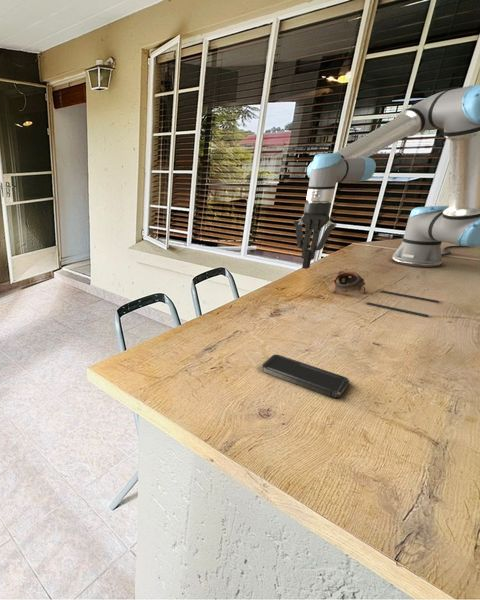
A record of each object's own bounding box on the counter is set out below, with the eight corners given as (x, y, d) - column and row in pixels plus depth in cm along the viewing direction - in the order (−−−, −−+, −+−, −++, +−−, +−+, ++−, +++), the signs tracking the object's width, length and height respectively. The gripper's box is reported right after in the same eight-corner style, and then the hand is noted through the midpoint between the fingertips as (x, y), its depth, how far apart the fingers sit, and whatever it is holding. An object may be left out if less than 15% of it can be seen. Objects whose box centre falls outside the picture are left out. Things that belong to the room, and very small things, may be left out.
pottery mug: (373, 297, 115) (370, 279, 111) (341, 308, 118) (338, 291, 114) (352, 278, 125) (349, 260, 121) (323, 288, 128) (319, 272, 124)
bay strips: (381, 291, 119) (382, 290, 119) (438, 301, 109) (438, 300, 108) (366, 304, 110) (366, 303, 110) (427, 317, 99) (427, 316, 99)
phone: (339, 395, 68) (260, 366, 79) (338, 400, 68) (259, 370, 79) (351, 378, 73) (275, 353, 83) (349, 383, 73) (274, 357, 84)
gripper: (293, 201, 122) (282, 266, 131) (336, 203, 113) (321, 273, 121) (302, 199, 126) (291, 262, 135) (344, 201, 117) (330, 268, 125)
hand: (305, 267), depth 128 cm, fingers closed
